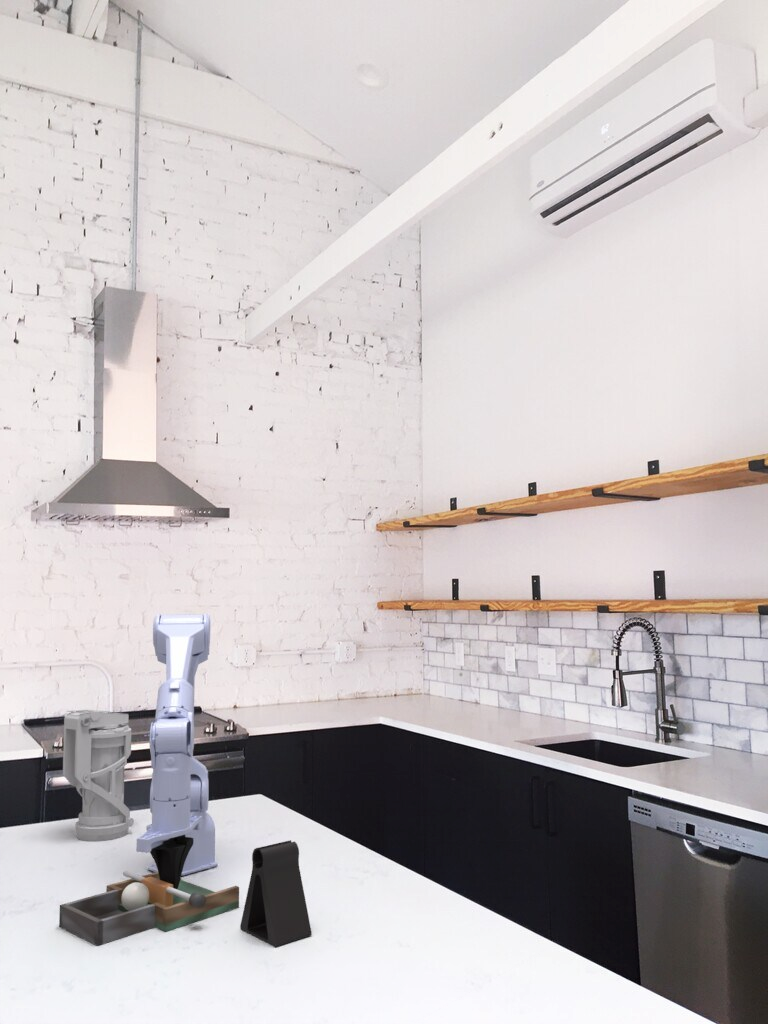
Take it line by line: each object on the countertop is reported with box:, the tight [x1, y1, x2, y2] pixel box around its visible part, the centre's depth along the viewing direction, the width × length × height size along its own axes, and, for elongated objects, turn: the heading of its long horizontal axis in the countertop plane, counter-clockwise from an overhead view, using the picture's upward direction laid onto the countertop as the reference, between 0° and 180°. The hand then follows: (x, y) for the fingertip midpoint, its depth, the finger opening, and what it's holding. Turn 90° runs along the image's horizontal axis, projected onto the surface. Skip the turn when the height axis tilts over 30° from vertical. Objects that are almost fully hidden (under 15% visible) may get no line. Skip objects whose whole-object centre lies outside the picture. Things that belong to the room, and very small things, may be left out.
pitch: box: [58, 872, 240, 946], centre depth 131 cm, size 22×16×3 cm
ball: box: [121, 882, 149, 911], centre depth 130 cm, size 4×4×4 cm
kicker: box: [122, 870, 206, 908], centre depth 132 cm, size 2×20×3 cm, turn 48°
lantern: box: [62, 709, 135, 842], centre depth 176 cm, size 13×10×25 cm
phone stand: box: [240, 840, 313, 948], centre depth 124 cm, size 9×6×12 cm, turn 41°
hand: (170, 888), depth 134 cm, fingers closed
